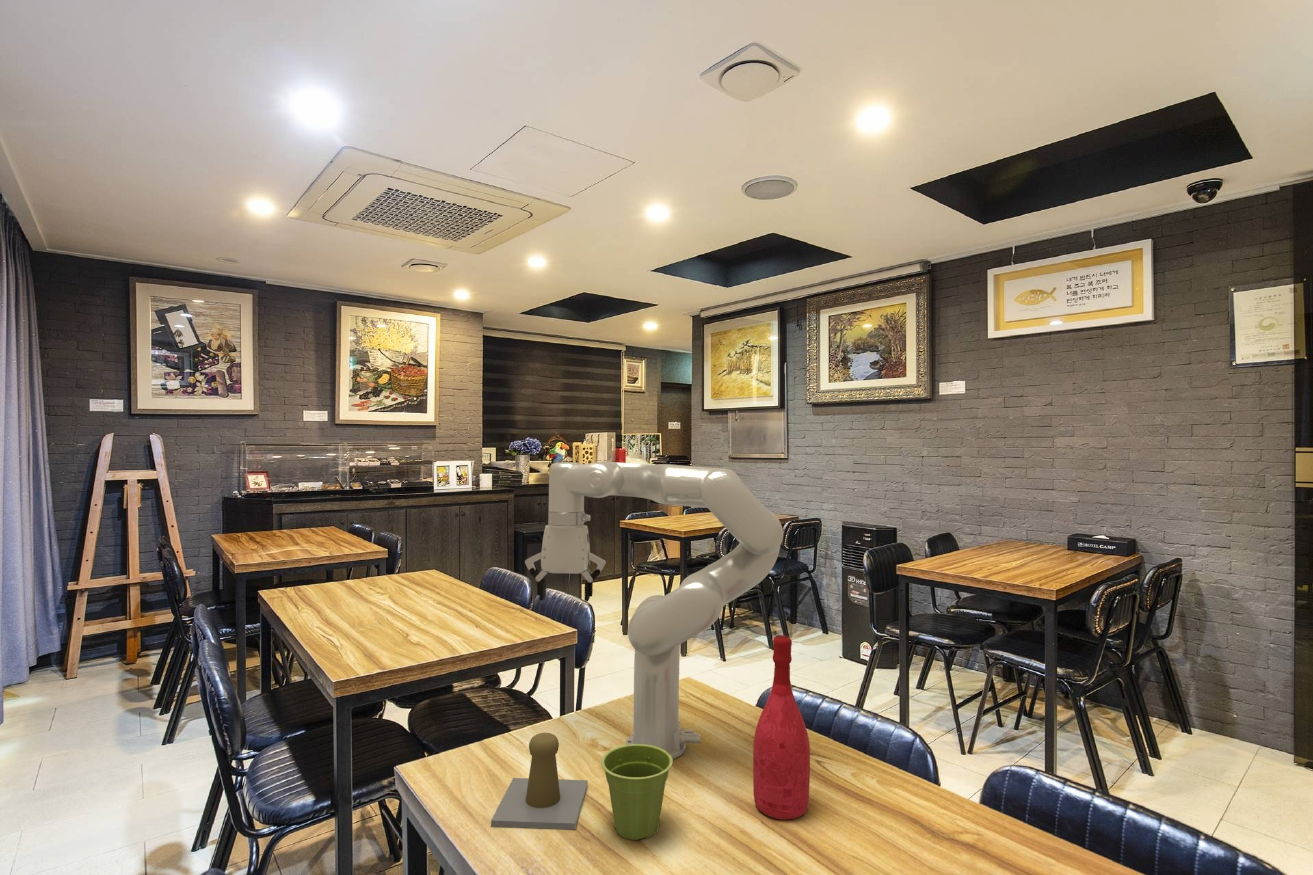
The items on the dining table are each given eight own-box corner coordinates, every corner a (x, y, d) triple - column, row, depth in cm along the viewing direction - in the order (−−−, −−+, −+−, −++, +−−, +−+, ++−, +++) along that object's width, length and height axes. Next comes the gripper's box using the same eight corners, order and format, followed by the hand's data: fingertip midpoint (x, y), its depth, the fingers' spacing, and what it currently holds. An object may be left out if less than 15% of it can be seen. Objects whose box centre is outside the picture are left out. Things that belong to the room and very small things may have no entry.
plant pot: (604, 807, 113) (605, 742, 114) (672, 809, 113) (672, 744, 113) (595, 849, 101) (596, 776, 102) (671, 851, 101) (672, 778, 101)
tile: (587, 785, 121) (587, 780, 121) (575, 829, 107) (575, 823, 107) (513, 783, 121) (513, 777, 121) (490, 826, 107) (491, 820, 107)
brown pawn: (553, 809, 111) (554, 744, 111) (520, 805, 112) (521, 741, 112) (565, 791, 116) (566, 729, 117) (533, 787, 118) (534, 726, 118)
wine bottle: (812, 798, 117) (813, 631, 118) (806, 827, 108) (807, 646, 109) (758, 788, 120) (759, 626, 121) (747, 816, 111) (749, 640, 112)
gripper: (607, 518, 143) (606, 596, 143) (530, 517, 144) (528, 594, 143) (604, 522, 136) (602, 604, 135) (522, 520, 136) (520, 602, 136)
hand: (564, 599), depth 139 cm, fingers open, 9 cm apart
